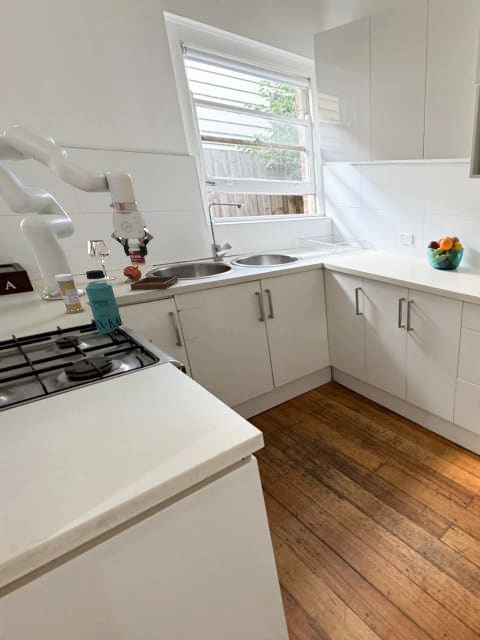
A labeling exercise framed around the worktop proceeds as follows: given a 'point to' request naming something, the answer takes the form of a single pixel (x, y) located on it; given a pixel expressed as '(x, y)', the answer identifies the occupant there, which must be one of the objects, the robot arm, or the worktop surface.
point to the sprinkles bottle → (69, 292)
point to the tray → (154, 283)
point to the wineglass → (99, 254)
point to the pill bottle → (136, 254)
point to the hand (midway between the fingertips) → (137, 255)
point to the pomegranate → (132, 273)
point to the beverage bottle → (102, 303)
